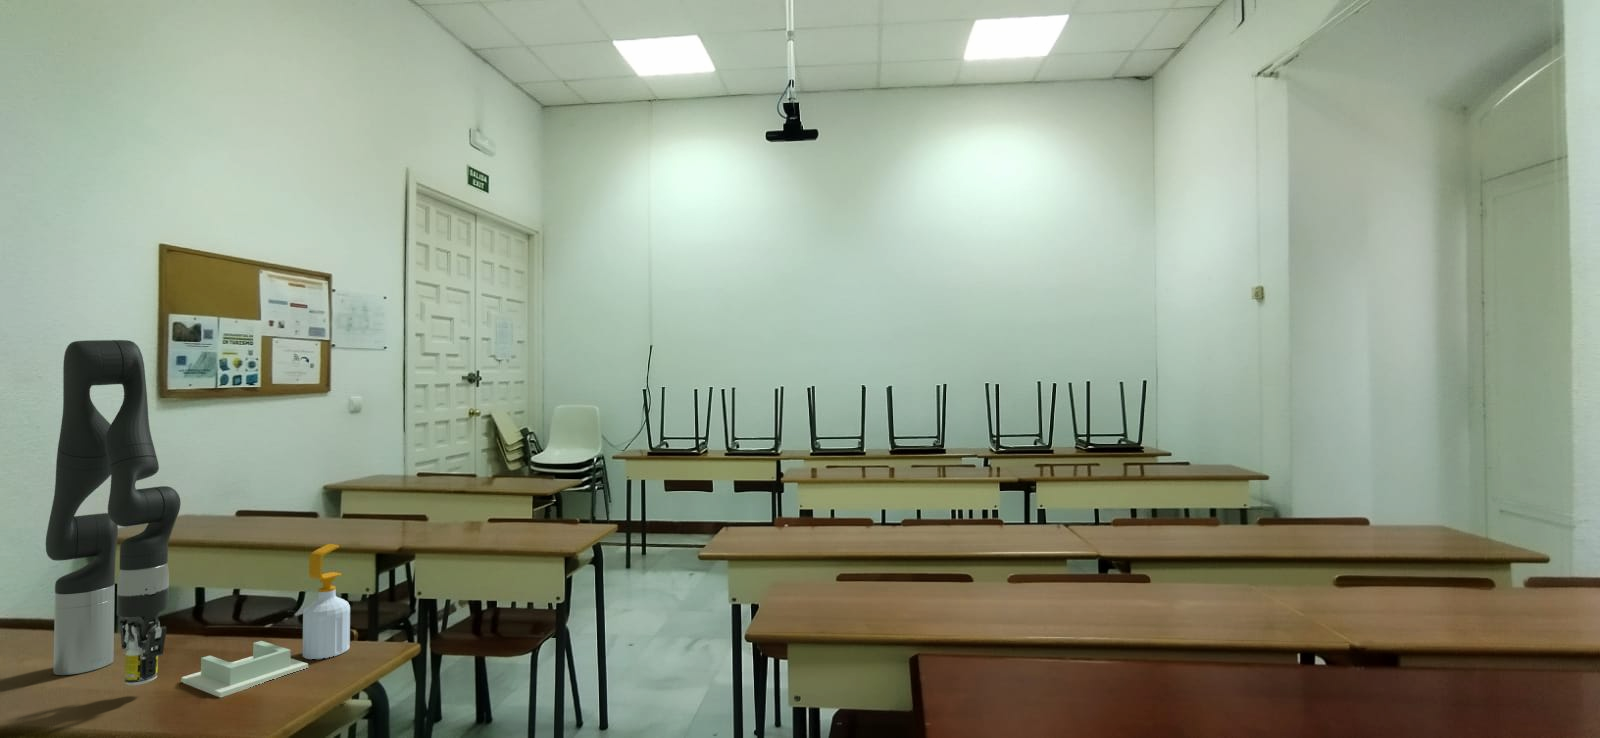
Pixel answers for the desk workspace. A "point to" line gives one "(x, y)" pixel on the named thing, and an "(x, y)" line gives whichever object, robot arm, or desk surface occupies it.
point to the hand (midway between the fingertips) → (141, 673)
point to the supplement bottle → (135, 666)
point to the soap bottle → (325, 614)
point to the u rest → (243, 670)
